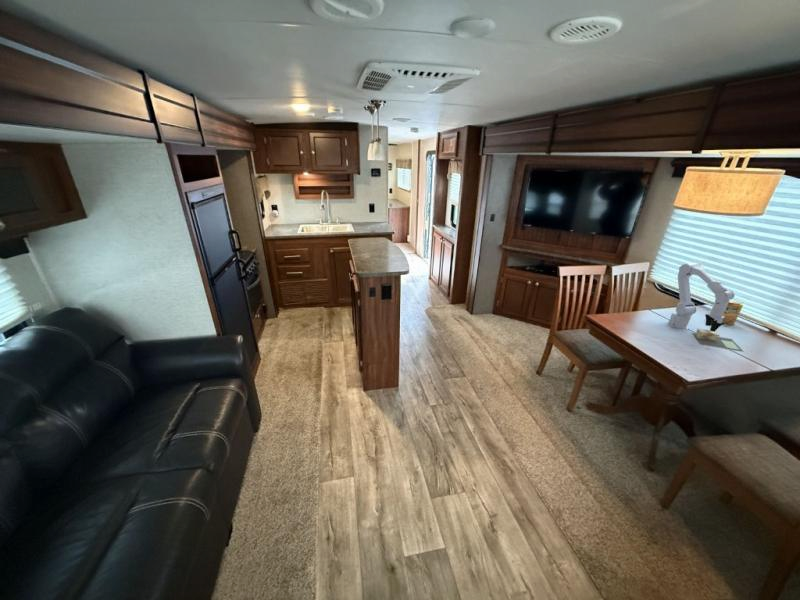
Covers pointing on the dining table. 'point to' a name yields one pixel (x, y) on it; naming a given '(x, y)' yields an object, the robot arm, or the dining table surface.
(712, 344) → the rubber mat
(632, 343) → the dining table surface
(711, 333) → the maple block
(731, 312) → the candy box
